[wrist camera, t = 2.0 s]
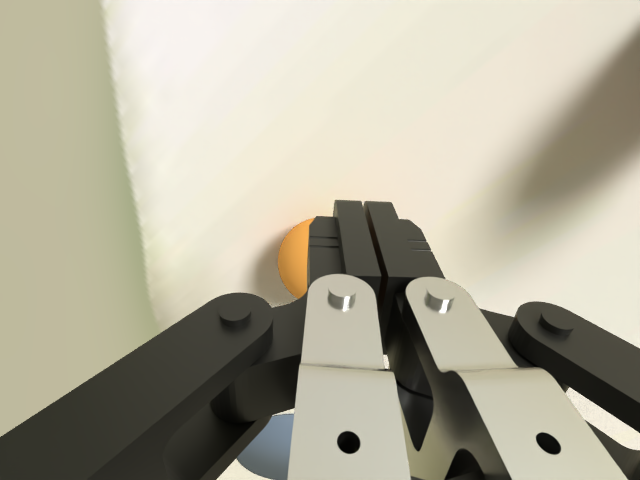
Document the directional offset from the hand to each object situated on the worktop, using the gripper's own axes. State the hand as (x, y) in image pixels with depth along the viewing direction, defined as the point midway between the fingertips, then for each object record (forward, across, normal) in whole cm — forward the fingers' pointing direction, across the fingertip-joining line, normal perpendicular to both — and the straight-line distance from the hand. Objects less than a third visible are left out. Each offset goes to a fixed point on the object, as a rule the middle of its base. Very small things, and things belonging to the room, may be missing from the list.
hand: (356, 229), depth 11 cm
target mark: (+15, +1, +38) cm, 40 cm away
